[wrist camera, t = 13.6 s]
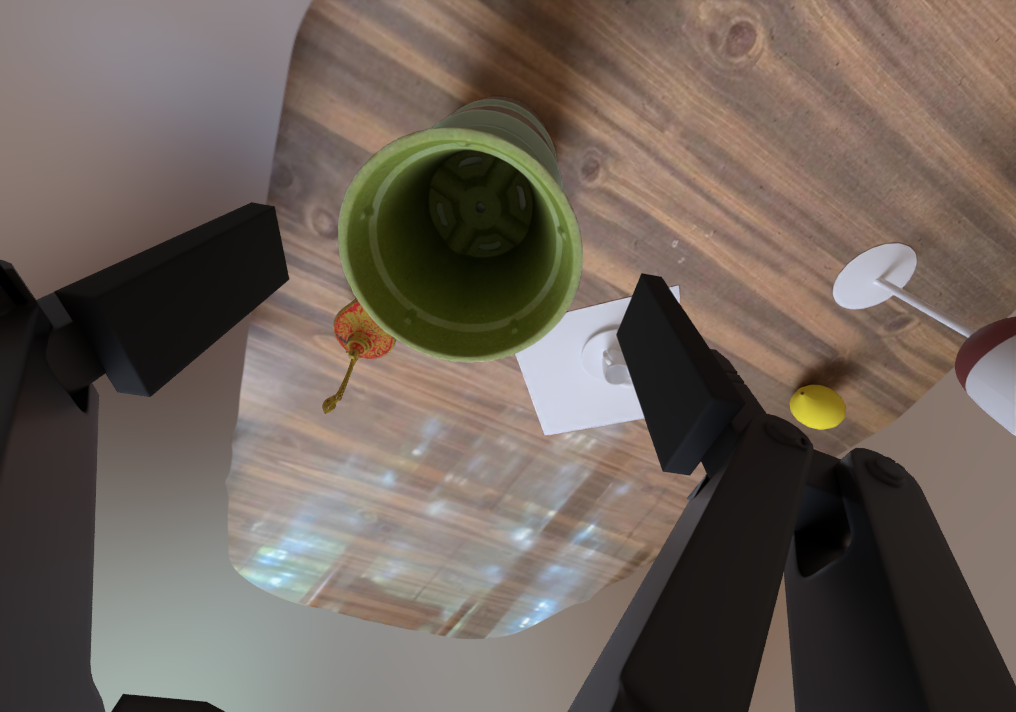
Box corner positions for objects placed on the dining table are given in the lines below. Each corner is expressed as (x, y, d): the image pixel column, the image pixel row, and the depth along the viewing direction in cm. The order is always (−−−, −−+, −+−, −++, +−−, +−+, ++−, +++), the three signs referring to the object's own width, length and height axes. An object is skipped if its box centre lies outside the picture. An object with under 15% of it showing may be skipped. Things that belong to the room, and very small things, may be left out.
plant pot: (574, 265, 23) (594, 344, 16) (433, 294, 25) (397, 377, 18) (548, 86, 18) (563, 89, 11) (371, 138, 20) (285, 169, 13)
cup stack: (448, 84, 31) (393, 86, 18) (565, 109, 32) (592, 128, 19) (441, 207, 37) (396, 274, 24) (539, 225, 38) (546, 300, 25)
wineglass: (921, 222, 36) (1239, 336, 20) (917, 293, 40) (1176, 434, 24) (827, 261, 39) (1042, 389, 23) (833, 324, 43) (1016, 469, 27)
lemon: (837, 394, 49) (867, 424, 45) (796, 415, 52) (820, 446, 47) (812, 366, 47) (841, 395, 42) (770, 390, 49) (793, 420, 45)
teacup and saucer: (648, 376, 49) (656, 397, 45) (587, 388, 50) (591, 409, 47) (641, 320, 44) (651, 339, 40) (574, 335, 45) (578, 355, 42)
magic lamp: (436, 254, 40) (410, 303, 31) (385, 368, 50) (354, 430, 41) (374, 222, 38) (328, 264, 29) (333, 346, 48) (290, 406, 39)
